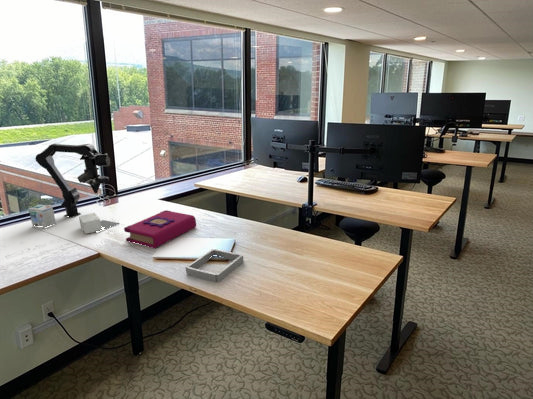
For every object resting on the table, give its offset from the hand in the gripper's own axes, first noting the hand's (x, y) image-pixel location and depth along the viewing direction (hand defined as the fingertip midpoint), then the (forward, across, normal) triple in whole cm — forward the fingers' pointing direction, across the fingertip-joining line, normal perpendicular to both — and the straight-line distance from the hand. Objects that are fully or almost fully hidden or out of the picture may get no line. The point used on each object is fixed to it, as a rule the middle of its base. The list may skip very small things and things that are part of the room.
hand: (96, 193), depth 221 cm
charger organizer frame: (+12, +102, -27) cm, 106 cm away
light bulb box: (+13, -14, -25) cm, 31 cm away
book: (+13, +56, -9) cm, 59 cm away
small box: (+9, +10, -15) cm, 20 cm away
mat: (+12, +18, -14) cm, 26 cm away
